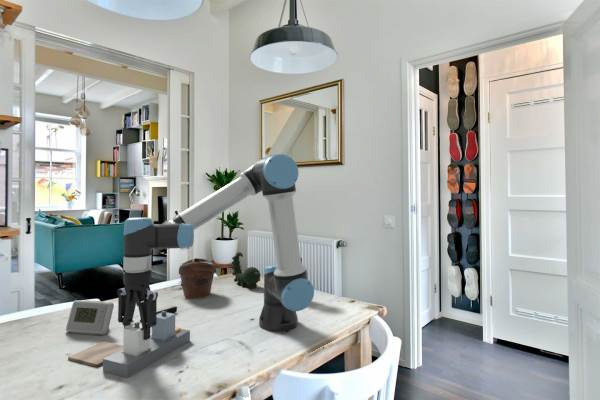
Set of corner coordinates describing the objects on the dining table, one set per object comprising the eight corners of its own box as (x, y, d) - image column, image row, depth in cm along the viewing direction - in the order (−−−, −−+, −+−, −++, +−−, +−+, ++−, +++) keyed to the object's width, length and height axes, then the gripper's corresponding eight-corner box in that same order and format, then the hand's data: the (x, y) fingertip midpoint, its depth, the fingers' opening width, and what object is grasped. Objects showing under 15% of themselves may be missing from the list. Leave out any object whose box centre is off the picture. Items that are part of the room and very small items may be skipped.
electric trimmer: (179, 314, 144) (179, 306, 144) (144, 324, 132) (144, 316, 132) (173, 312, 147) (173, 305, 147) (139, 322, 134) (139, 314, 134)
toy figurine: (228, 285, 196) (253, 291, 177) (227, 252, 197) (251, 254, 178) (242, 283, 202) (267, 288, 184) (241, 250, 203) (266, 252, 185)
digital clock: (62, 332, 123) (63, 303, 122) (86, 324, 131) (86, 296, 131) (96, 339, 117) (96, 308, 117) (118, 330, 126) (118, 301, 125)
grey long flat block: (189, 340, 117) (190, 328, 117) (127, 377, 93) (127, 362, 93) (168, 336, 121) (169, 324, 121) (102, 371, 96) (103, 356, 96)
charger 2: (175, 341, 113) (175, 310, 113) (164, 347, 109) (164, 315, 109) (163, 338, 115) (163, 308, 115) (151, 344, 111) (152, 312, 110)
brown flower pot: (198, 287, 185) (199, 254, 185) (224, 294, 174) (224, 258, 173) (169, 295, 171) (169, 259, 170) (194, 303, 159) (194, 264, 159)
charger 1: (149, 355, 103) (150, 321, 103) (136, 362, 98) (136, 327, 98) (136, 352, 105) (137, 319, 105) (123, 359, 100) (123, 324, 100)
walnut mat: (131, 350, 110) (131, 347, 110) (97, 367, 98) (97, 364, 98) (103, 343, 114) (103, 341, 114) (68, 359, 103) (68, 356, 103)
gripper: (171, 270, 102) (170, 348, 102) (125, 265, 108) (124, 338, 108) (151, 275, 95) (150, 359, 95) (104, 269, 101) (103, 348, 101)
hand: (136, 348), depth 102 cm, fingers closed on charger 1, 5 cm apart
